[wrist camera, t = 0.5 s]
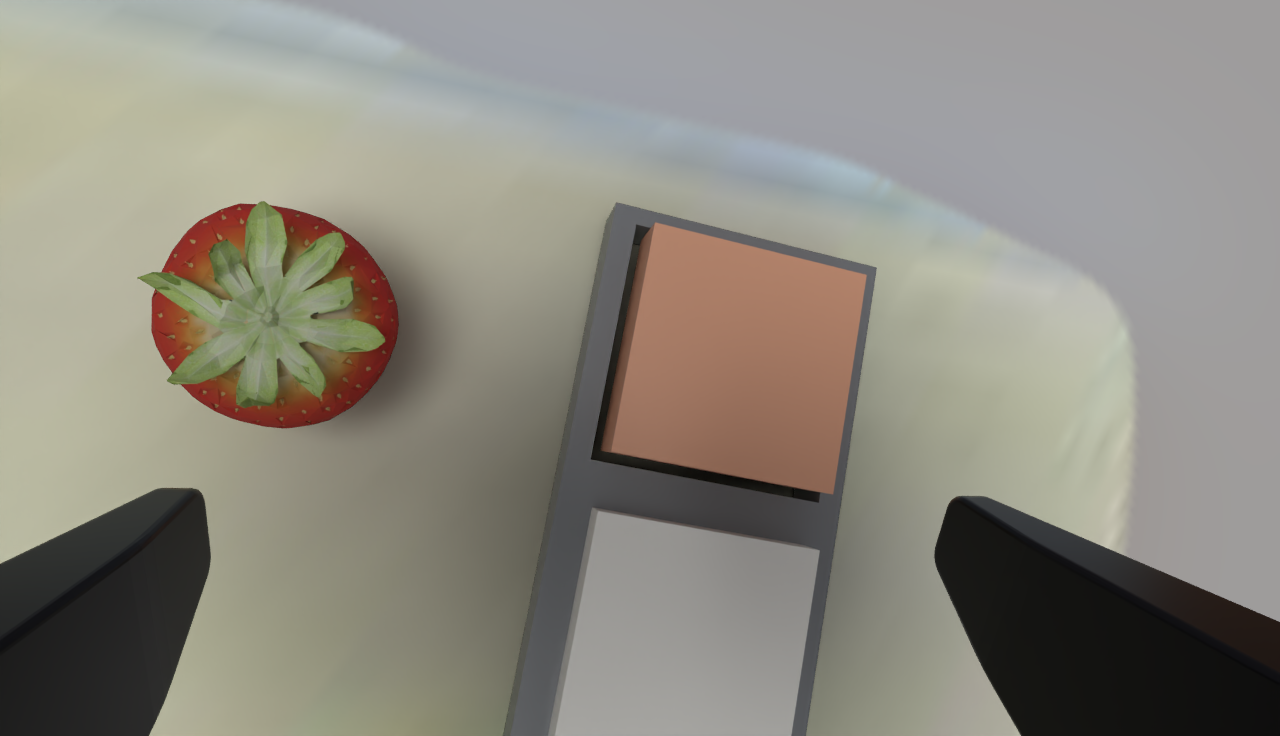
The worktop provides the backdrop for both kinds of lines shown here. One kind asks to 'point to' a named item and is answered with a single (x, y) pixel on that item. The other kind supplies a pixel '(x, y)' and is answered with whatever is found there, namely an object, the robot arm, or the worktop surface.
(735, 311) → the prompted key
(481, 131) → the worktop surface
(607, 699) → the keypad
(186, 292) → the fruit
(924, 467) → the worktop surface
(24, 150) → the worktop surface
